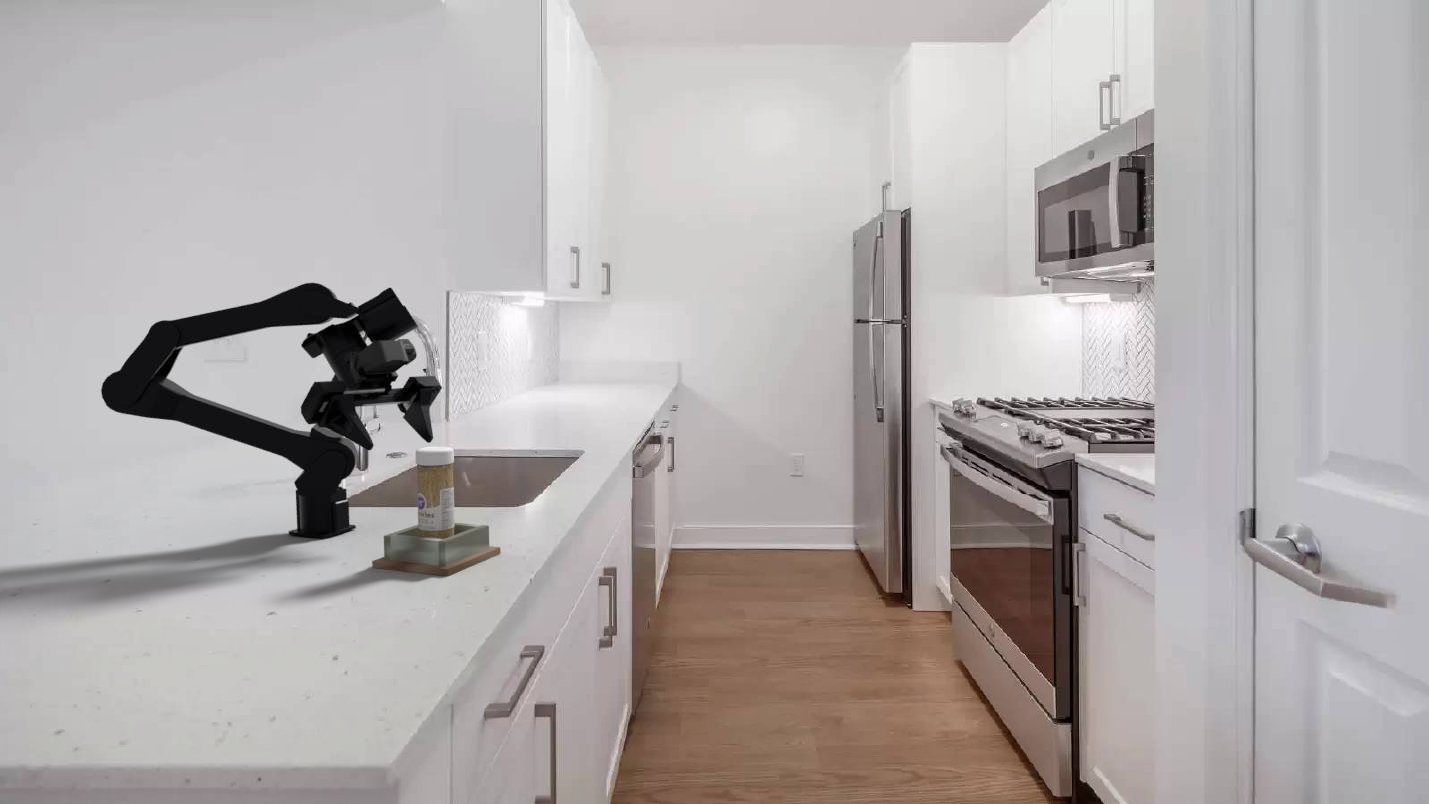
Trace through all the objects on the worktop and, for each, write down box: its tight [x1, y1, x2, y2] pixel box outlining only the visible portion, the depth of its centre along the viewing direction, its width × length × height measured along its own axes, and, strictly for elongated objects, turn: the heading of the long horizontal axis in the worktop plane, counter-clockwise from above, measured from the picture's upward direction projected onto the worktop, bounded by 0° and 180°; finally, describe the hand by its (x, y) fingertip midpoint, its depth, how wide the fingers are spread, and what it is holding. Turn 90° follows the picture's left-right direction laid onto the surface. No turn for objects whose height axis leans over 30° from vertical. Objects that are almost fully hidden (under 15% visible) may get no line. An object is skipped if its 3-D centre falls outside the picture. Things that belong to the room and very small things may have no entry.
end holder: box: [371, 522, 501, 577], centre depth 109 cm, size 11×11×4 cm
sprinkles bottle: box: [415, 445, 456, 539], centre depth 109 cm, size 5×5×13 cm
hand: (402, 444), depth 117 cm, fingers open, 9 cm apart
